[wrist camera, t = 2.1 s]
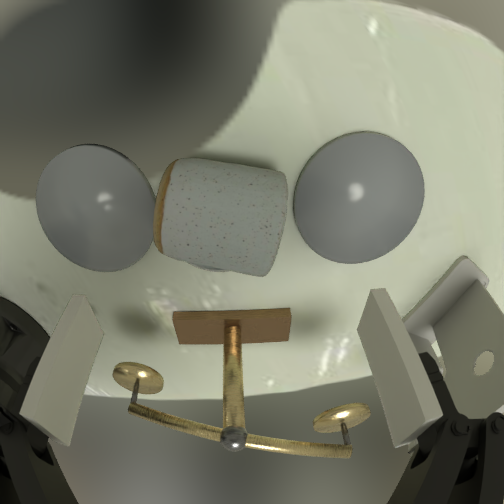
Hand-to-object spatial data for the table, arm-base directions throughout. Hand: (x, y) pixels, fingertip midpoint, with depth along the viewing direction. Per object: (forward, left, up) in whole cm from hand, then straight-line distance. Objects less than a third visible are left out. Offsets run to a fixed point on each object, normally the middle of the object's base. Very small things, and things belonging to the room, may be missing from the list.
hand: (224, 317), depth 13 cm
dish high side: (+11, 0, -12) cm, 17 cm away
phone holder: (+26, -16, -13) cm, 33 cm away
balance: (0, -14, -12) cm, 19 cm away
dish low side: (-12, 0, -12) cm, 17 cm away
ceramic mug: (-1, -1, -13) cm, 13 cm away
